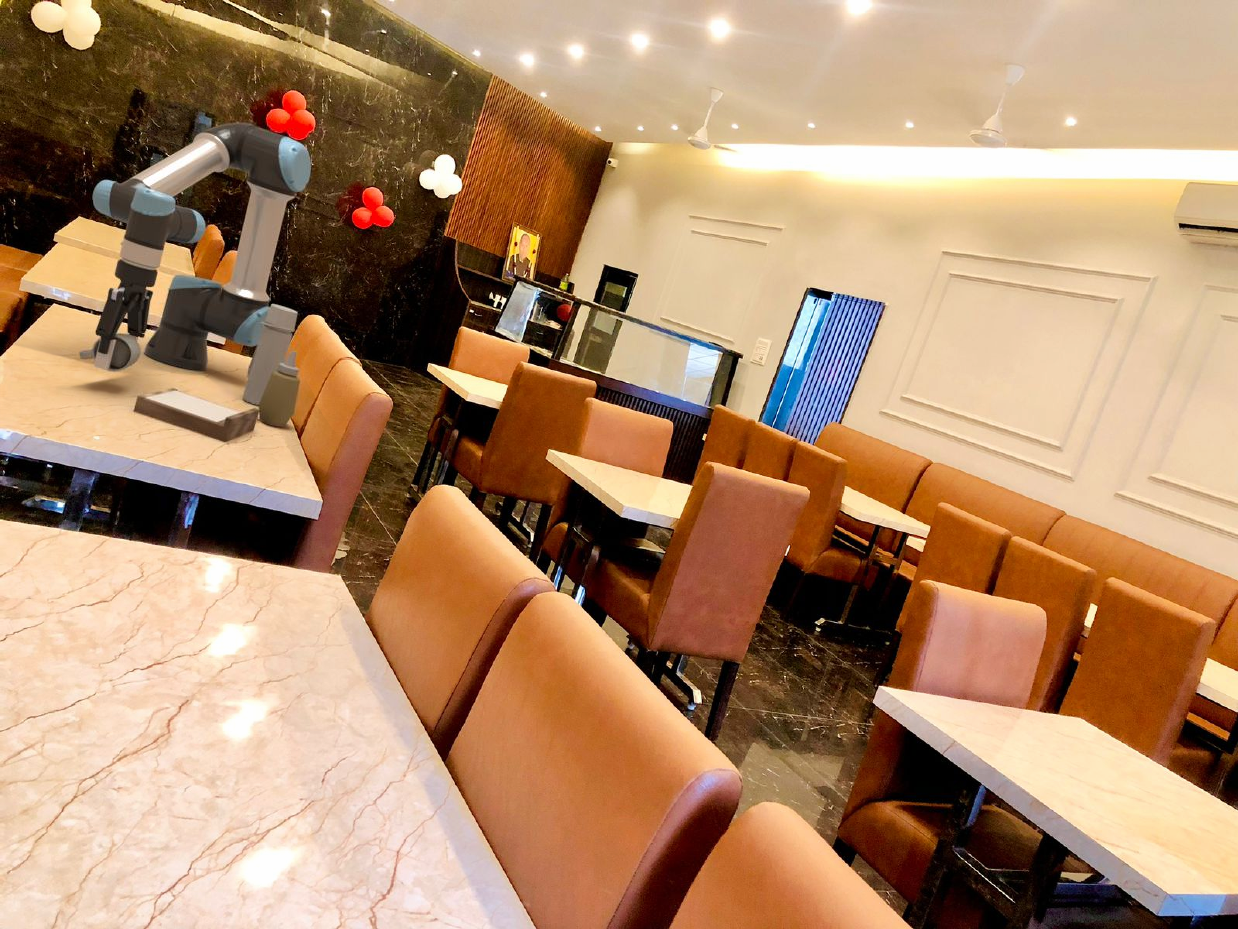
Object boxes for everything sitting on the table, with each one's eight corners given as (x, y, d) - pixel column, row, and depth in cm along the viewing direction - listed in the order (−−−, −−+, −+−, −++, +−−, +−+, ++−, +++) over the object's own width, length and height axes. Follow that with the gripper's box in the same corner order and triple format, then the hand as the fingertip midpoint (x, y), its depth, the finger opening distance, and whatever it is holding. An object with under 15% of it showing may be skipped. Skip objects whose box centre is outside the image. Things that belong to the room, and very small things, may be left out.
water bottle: (278, 408, 224) (306, 315, 220) (254, 407, 217) (282, 310, 213) (253, 396, 228) (280, 304, 224) (229, 394, 220) (256, 298, 216)
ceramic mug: (138, 369, 193) (146, 336, 191) (127, 376, 185) (135, 341, 184) (85, 355, 189) (92, 321, 188) (72, 361, 182) (79, 325, 180)
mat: (175, 391, 194) (175, 390, 193) (242, 414, 195) (242, 413, 195) (144, 398, 180) (144, 397, 180) (216, 422, 181) (216, 422, 181)
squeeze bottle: (260, 415, 212) (282, 344, 209) (293, 426, 213) (315, 356, 210) (249, 419, 204) (271, 346, 201) (283, 431, 205) (305, 358, 202)
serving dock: (169, 401, 195) (175, 380, 194) (253, 430, 197) (259, 409, 196) (133, 411, 179) (139, 388, 178) (225, 442, 181) (231, 419, 180)
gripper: (146, 258, 194) (121, 355, 198) (92, 256, 173) (66, 364, 177) (179, 270, 194) (154, 366, 198) (130, 269, 173) (103, 377, 177)
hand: (113, 365), depth 188 cm, fingers closed on ceramic mug, 9 cm apart
